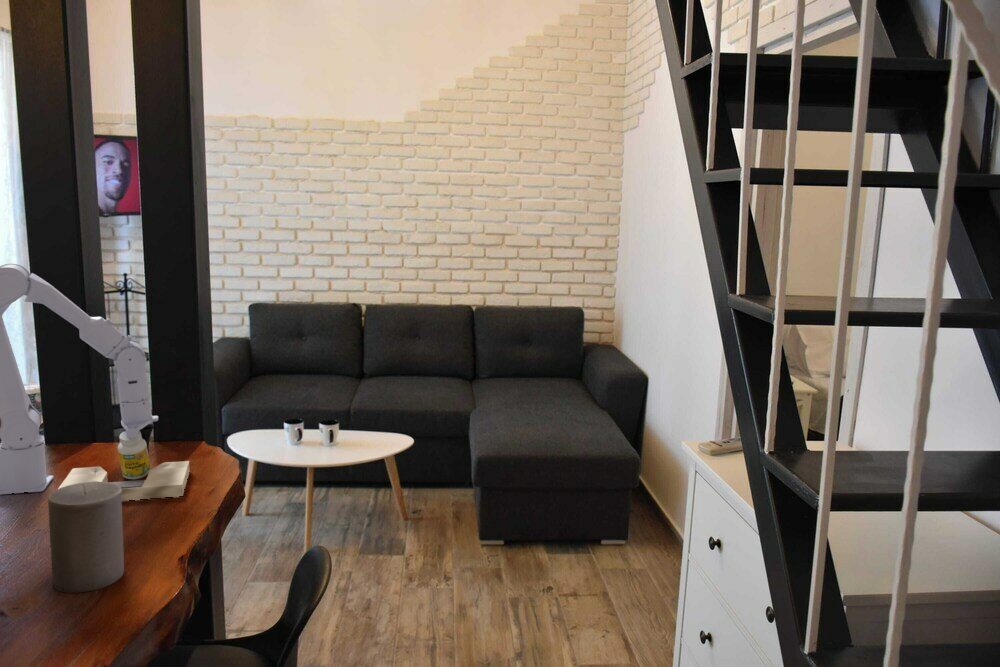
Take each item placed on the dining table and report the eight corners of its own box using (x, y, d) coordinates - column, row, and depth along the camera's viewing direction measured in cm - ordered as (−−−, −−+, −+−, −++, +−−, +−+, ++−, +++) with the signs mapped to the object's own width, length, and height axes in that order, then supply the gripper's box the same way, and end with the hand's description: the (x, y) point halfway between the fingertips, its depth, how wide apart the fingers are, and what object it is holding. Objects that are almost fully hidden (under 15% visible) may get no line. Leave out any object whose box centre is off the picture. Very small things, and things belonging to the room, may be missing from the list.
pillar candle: (47, 598, 104) (41, 500, 102) (57, 567, 113) (52, 475, 110) (122, 587, 108) (119, 492, 105) (127, 558, 117) (124, 470, 114)
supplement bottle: (148, 462, 155) (143, 424, 151) (152, 476, 151) (146, 438, 146) (120, 468, 152) (114, 430, 148) (123, 483, 148) (117, 444, 144)
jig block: (54, 506, 135) (53, 493, 134) (73, 479, 148) (72, 467, 147) (182, 496, 142) (182, 483, 141) (189, 472, 155) (189, 460, 154)
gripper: (151, 406, 145) (158, 469, 148) (159, 388, 159) (166, 446, 161) (112, 410, 143) (120, 474, 146) (124, 391, 157) (131, 450, 159)
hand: (142, 460), depth 154 cm, fingers closed, pressing on supplement bottle
